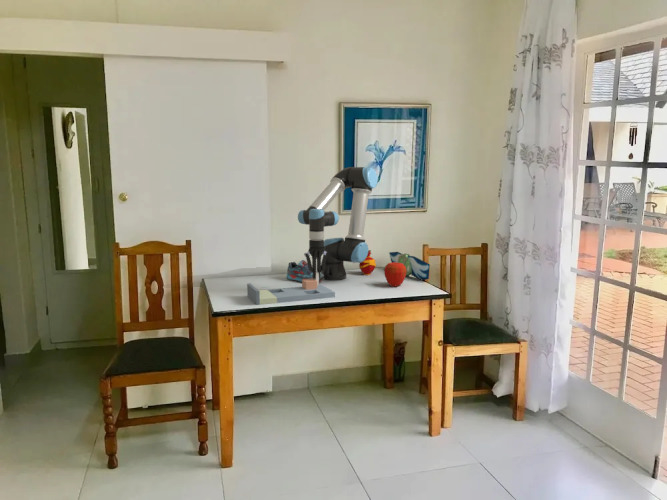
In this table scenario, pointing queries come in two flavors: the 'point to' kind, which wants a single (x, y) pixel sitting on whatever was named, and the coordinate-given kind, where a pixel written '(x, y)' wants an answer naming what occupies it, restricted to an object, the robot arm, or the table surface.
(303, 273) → the running shoe
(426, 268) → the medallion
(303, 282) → the block
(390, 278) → the apple
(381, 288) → the table surface
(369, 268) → the potion bottle
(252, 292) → the grey flat slotted slab
